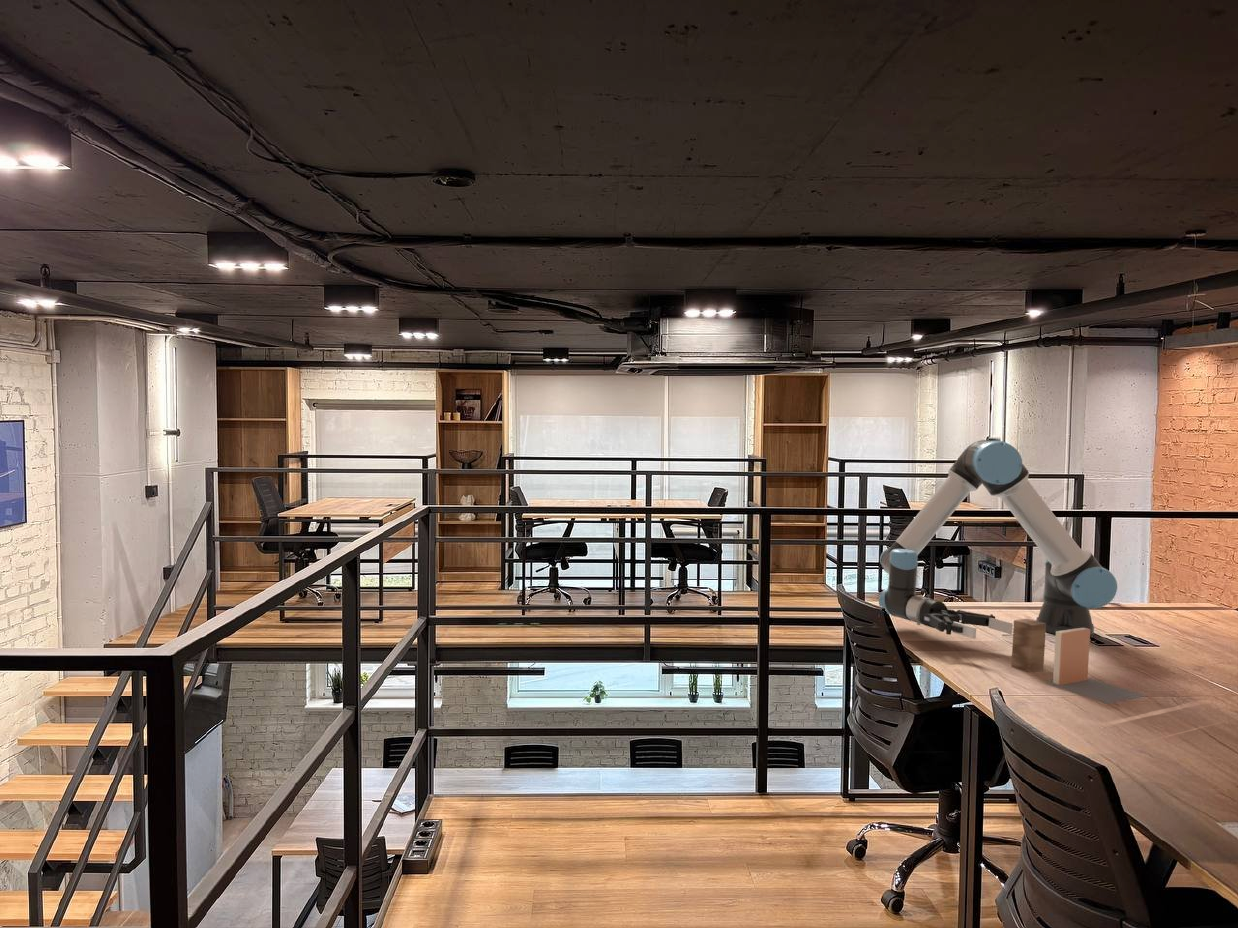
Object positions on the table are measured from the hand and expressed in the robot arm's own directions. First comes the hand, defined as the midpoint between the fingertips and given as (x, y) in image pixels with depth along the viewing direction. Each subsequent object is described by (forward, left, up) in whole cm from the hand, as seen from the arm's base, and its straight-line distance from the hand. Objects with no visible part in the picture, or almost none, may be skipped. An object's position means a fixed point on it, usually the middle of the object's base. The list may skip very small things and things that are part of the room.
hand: (993, 630), depth 209 cm
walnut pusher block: (+10, +2, -7) cm, 12 cm away
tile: (+20, +4, -7) cm, 22 cm away
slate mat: (+26, +5, -7) cm, 28 cm away
